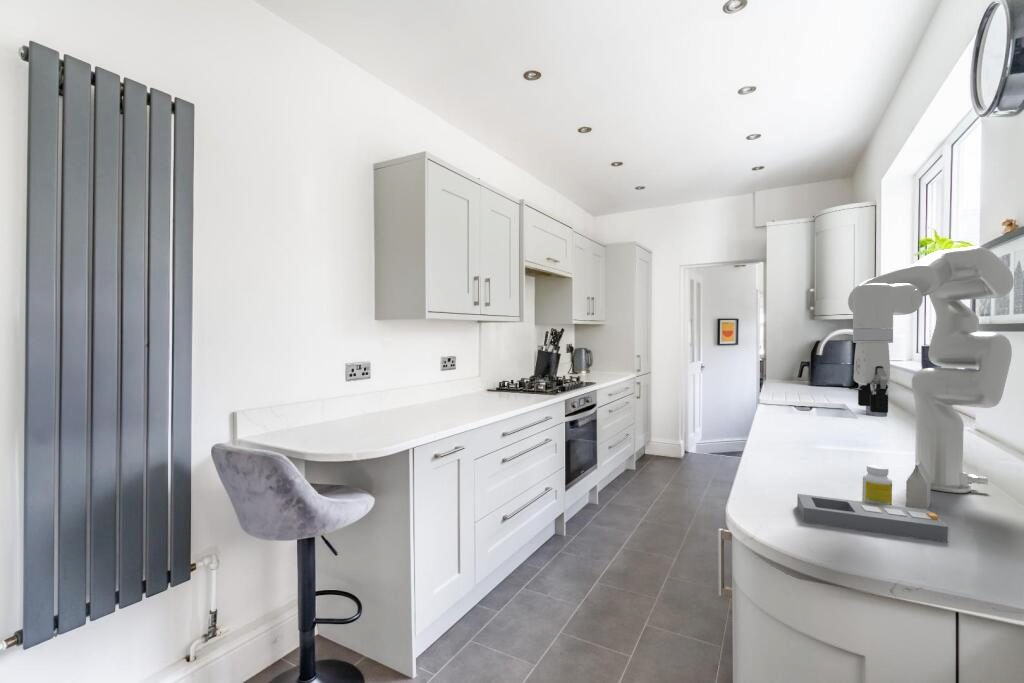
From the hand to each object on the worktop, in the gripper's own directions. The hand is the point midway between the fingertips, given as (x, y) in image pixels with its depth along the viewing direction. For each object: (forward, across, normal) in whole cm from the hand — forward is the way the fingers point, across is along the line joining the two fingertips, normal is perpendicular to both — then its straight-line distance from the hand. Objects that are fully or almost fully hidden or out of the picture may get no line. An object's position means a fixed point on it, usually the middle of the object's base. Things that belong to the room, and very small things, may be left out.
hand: (872, 408), depth 111 cm
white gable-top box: (+23, -5, +10) cm, 26 cm away
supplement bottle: (+23, +3, 0) cm, 23 cm away
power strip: (+23, +14, -5) cm, 27 cm away
